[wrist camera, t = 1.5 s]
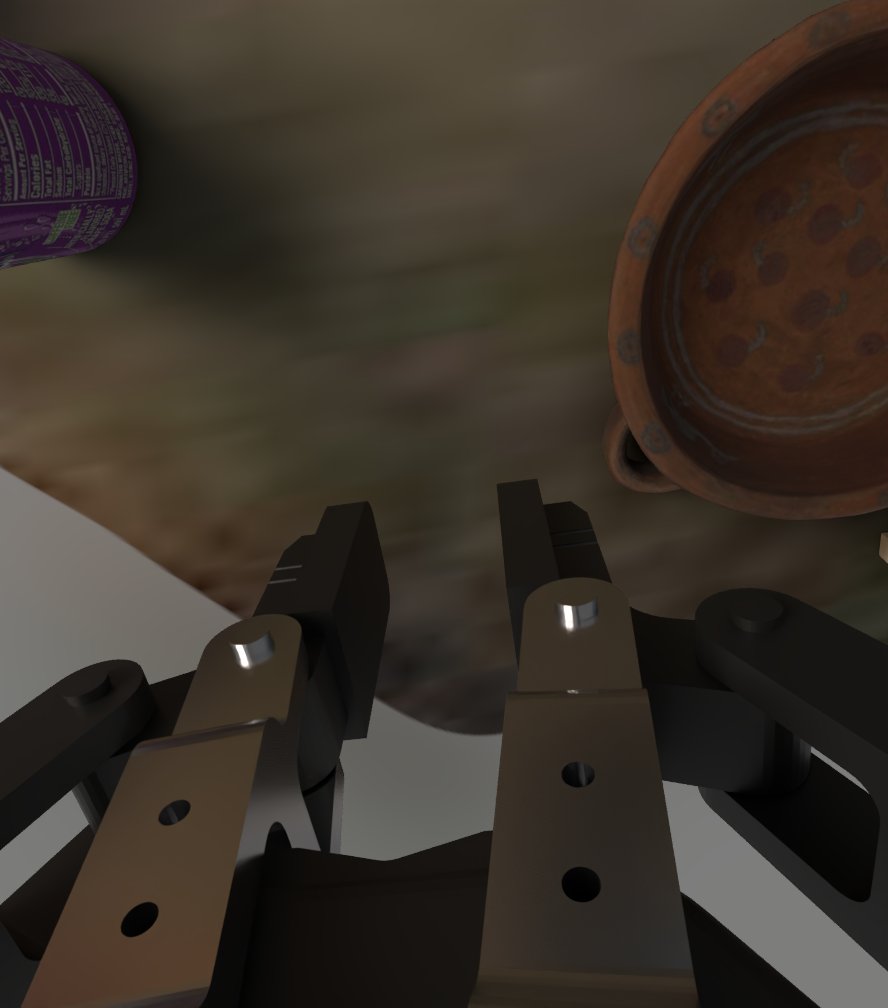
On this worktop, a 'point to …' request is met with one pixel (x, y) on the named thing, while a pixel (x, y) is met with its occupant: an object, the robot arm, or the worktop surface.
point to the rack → (884, 546)
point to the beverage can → (58, 158)
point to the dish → (764, 286)
